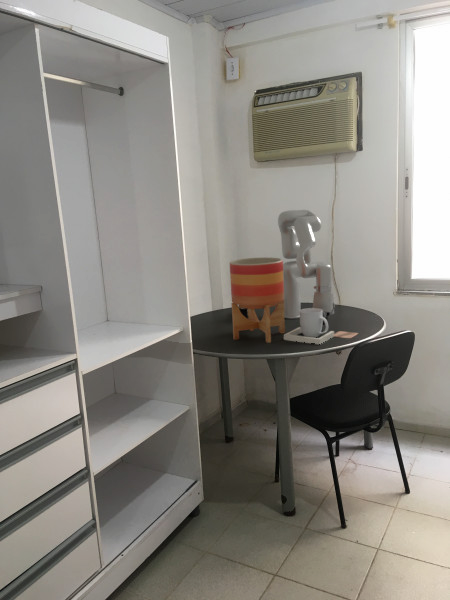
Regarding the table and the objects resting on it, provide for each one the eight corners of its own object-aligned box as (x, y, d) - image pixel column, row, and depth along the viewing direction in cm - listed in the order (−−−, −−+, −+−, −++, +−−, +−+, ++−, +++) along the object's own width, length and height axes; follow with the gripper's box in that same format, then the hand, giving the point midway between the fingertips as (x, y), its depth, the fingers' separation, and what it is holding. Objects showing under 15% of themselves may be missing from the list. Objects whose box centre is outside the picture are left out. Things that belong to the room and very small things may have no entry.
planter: (242, 346, 230) (238, 266, 223) (226, 333, 256) (221, 260, 248) (295, 339, 237) (293, 260, 230) (274, 326, 263) (271, 255, 256)
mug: (334, 336, 237) (334, 310, 235) (321, 342, 230) (320, 314, 227) (308, 332, 248) (308, 306, 245) (295, 337, 240) (294, 311, 238)
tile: (330, 336, 239) (330, 336, 239) (339, 331, 246) (339, 331, 246) (350, 338, 233) (350, 338, 233) (358, 333, 241) (358, 333, 240)
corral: (283, 339, 237) (283, 334, 237) (299, 332, 249) (299, 327, 249) (320, 344, 226) (320, 339, 226) (334, 336, 238) (334, 331, 238)
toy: (254, 300, 306) (251, 309, 277) (255, 311, 307) (252, 321, 278) (235, 301, 308) (230, 309, 278) (236, 312, 309) (231, 321, 279)
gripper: (306, 289, 249) (307, 324, 252) (334, 291, 240) (334, 327, 243) (313, 286, 254) (314, 321, 258) (340, 288, 246) (341, 324, 249)
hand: (324, 324), depth 251 cm, fingers closed
